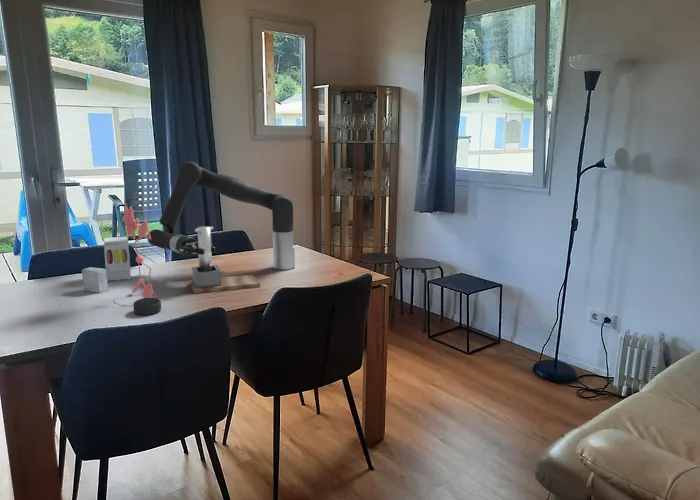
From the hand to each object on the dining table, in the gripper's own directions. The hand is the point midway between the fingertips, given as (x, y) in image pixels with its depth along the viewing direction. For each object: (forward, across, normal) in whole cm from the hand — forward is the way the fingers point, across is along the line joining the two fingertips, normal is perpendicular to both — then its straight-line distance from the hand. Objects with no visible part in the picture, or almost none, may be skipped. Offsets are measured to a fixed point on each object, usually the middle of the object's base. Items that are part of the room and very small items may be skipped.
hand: (209, 250), depth 207 cm
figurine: (-11, -26, +16) cm, 32 cm away
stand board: (+1, +6, +15) cm, 17 cm away
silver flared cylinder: (-3, 0, +11) cm, 11 cm away
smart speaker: (+6, -31, +16) cm, 36 cm away
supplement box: (-42, -15, +16) cm, 48 cm away
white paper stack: (-32, -30, +16) cm, 47 cm away
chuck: (-2, 0, +14) cm, 14 cm away
